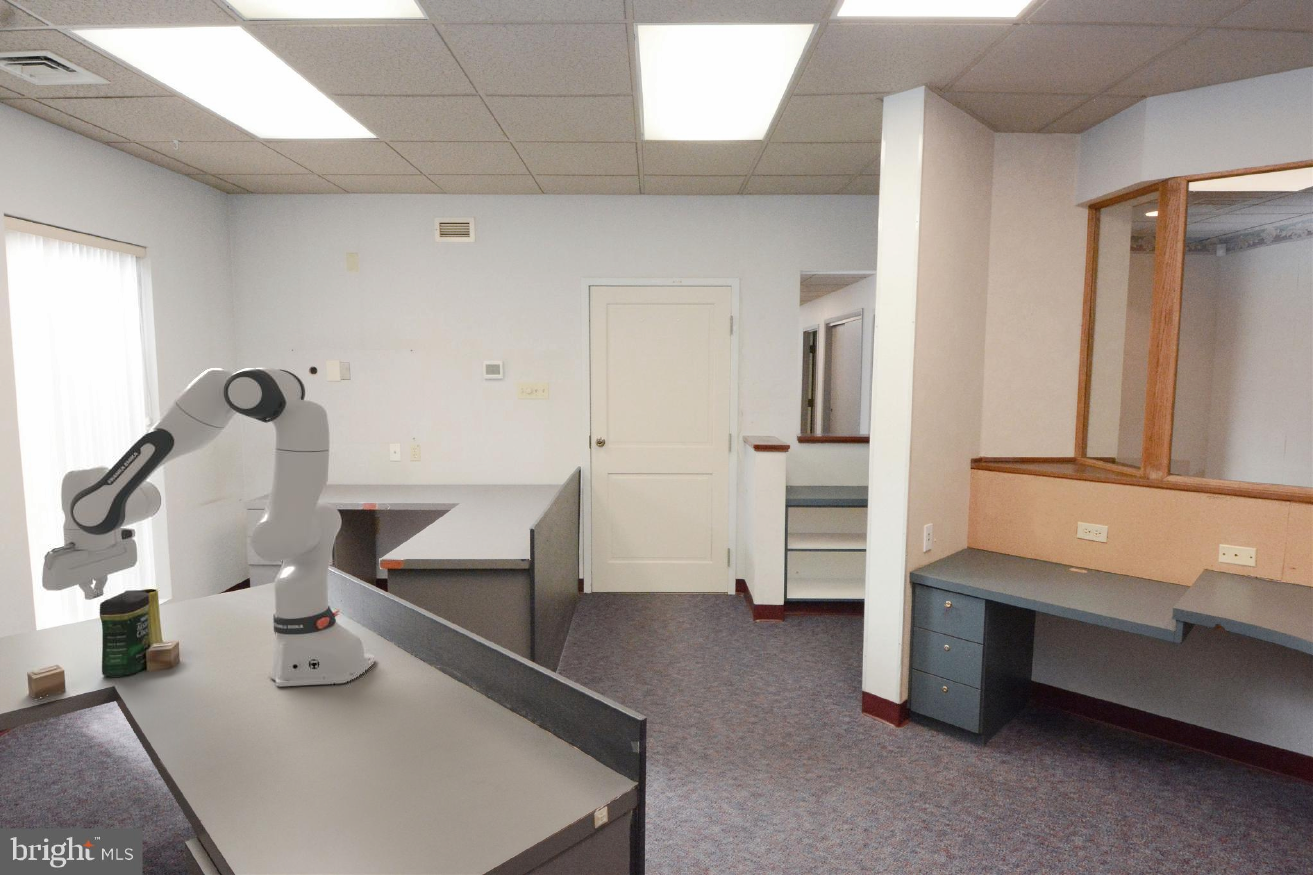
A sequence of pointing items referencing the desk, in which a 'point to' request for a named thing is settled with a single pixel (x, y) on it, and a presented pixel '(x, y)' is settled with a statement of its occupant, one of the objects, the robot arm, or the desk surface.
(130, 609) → the coffee jar
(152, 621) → the vase
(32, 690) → the marked block 1
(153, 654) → the marked block 2
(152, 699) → the desk surface
